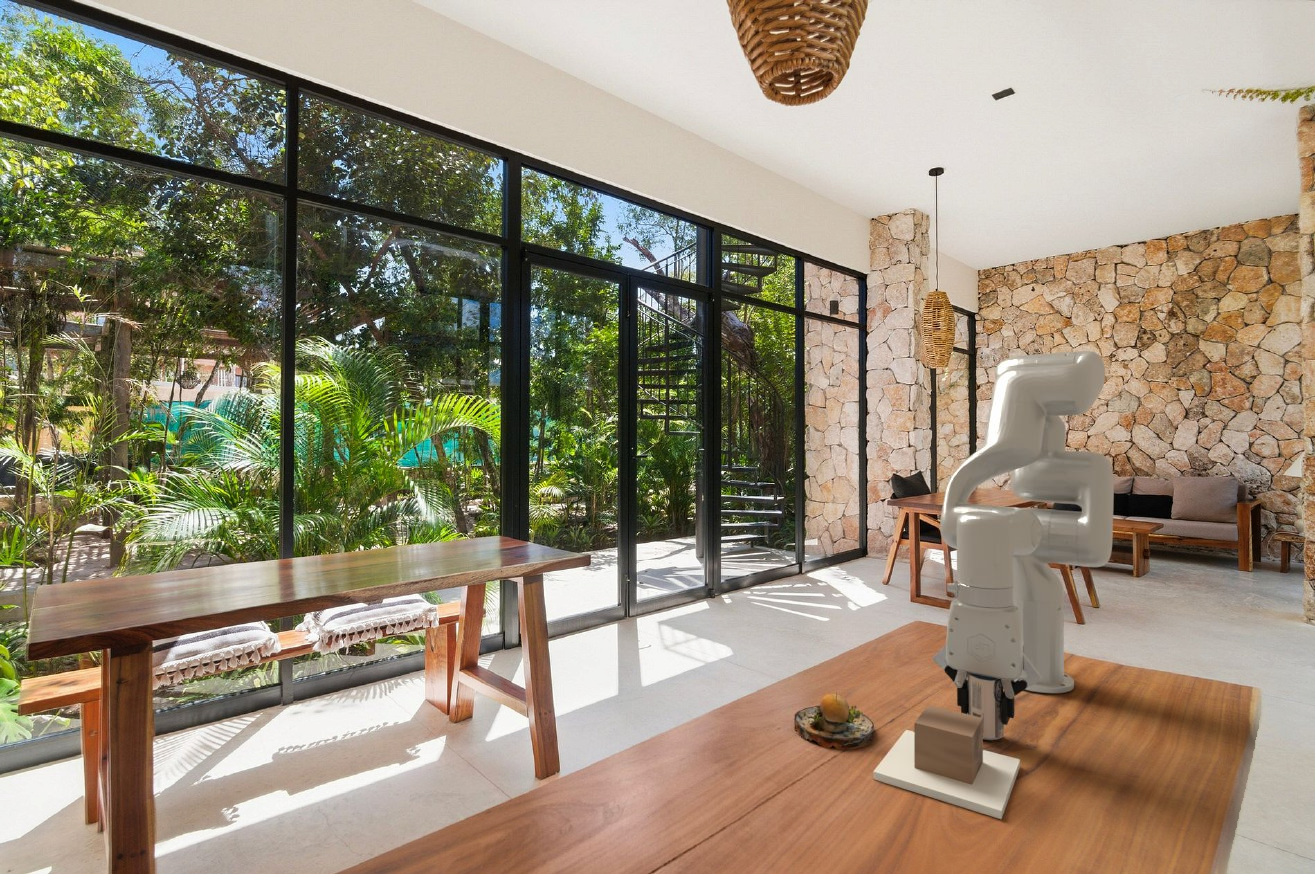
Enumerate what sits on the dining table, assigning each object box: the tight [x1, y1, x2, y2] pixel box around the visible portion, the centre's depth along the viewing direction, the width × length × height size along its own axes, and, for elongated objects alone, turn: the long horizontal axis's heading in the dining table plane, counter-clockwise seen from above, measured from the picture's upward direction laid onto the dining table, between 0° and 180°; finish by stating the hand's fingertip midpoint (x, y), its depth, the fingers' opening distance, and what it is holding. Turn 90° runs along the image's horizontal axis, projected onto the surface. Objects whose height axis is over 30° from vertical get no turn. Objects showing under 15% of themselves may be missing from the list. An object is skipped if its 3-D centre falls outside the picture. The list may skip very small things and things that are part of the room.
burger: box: [793, 693, 875, 750], centre depth 99 cm, size 12×12×8 cm
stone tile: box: [872, 729, 1021, 820], centre depth 86 cm, size 15×15×1 cm
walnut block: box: [913, 704, 984, 785], centre depth 86 cm, size 7×7×6 cm
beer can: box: [967, 672, 1005, 741], centre depth 97 cm, size 5×5×12 cm
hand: (985, 715), depth 97 cm, fingers closed on beer can, 4 cm apart
